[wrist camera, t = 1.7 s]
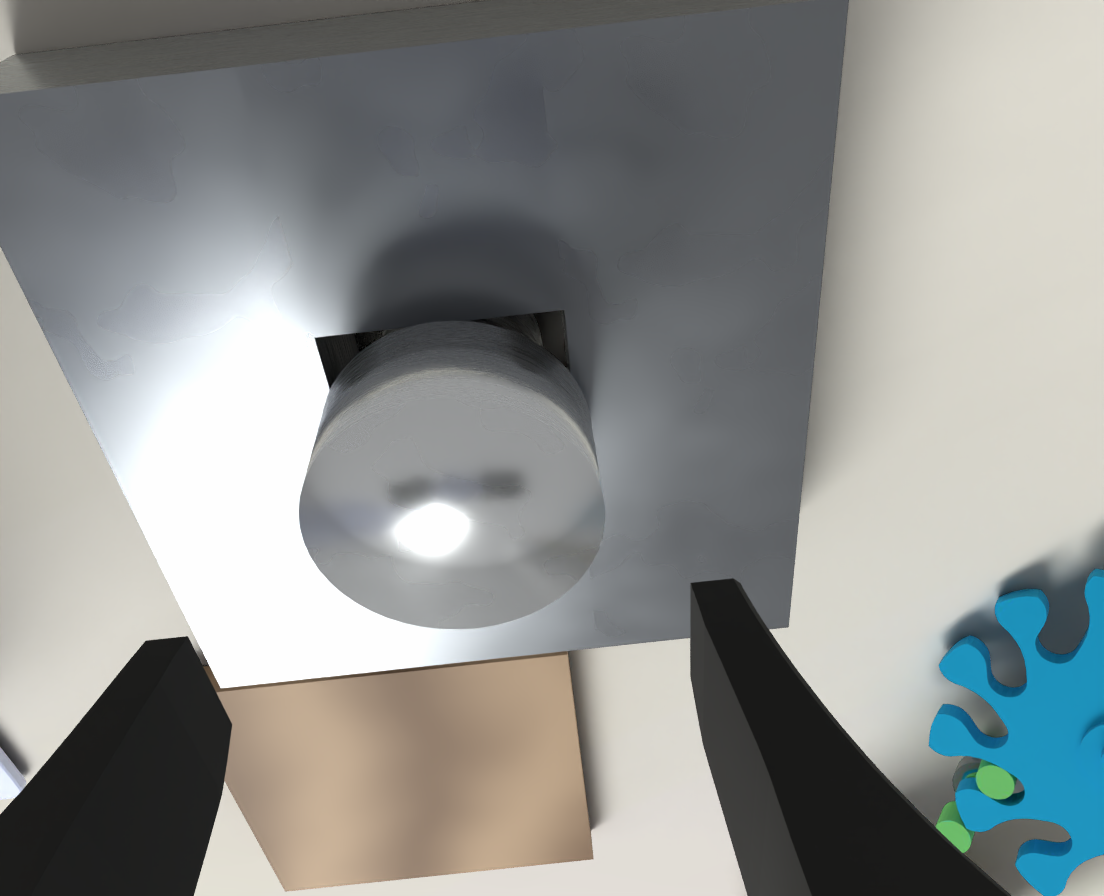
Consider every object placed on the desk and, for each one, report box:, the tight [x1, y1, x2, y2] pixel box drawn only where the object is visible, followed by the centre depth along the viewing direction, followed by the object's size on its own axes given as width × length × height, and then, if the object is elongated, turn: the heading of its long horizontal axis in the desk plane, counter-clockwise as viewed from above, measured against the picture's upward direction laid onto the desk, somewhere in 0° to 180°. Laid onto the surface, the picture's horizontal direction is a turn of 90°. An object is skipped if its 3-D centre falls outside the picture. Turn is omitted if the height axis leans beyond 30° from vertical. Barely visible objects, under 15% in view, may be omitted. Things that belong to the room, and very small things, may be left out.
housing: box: [0, 0, 849, 688], centre depth 19 cm, size 14×14×3 cm
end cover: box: [298, 313, 605, 629], centre depth 18 cm, size 5×5×6 cm
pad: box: [204, 651, 593, 891], centre depth 29 cm, size 11×11×1 cm
